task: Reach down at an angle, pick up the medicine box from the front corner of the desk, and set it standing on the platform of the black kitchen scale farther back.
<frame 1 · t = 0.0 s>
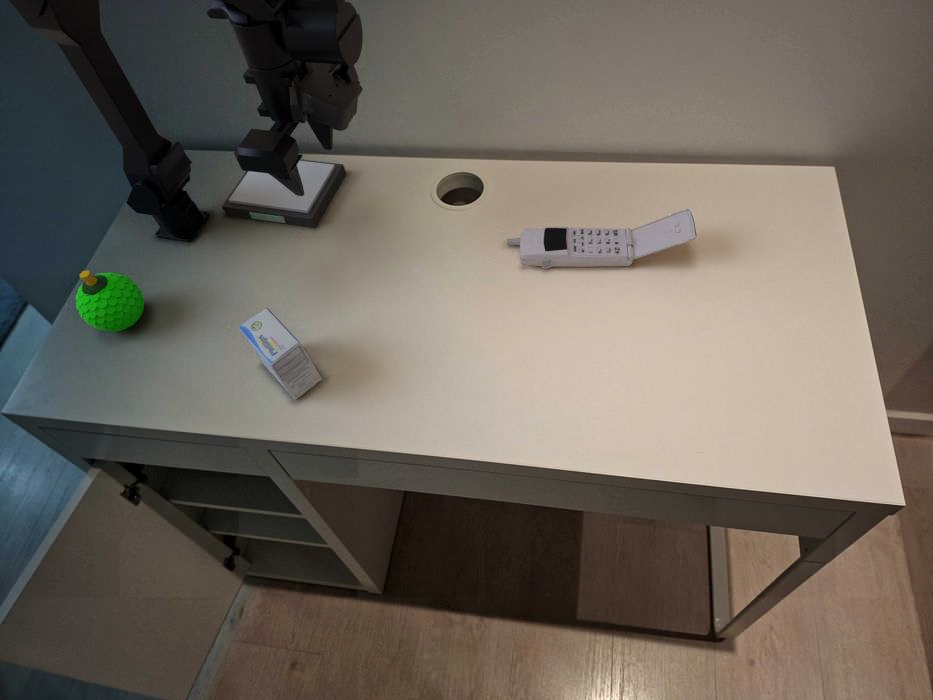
hand: (315, 171, 78), 15 cm above the table, tool pointing down, fingers open, 9 cm apart
medicine box: (293, 373, 78), on the table
kitchen scale: (287, 194, 98), on the table
mobile phone: (594, 255, 85), on the table
ornament: (128, 321, 86), on the table
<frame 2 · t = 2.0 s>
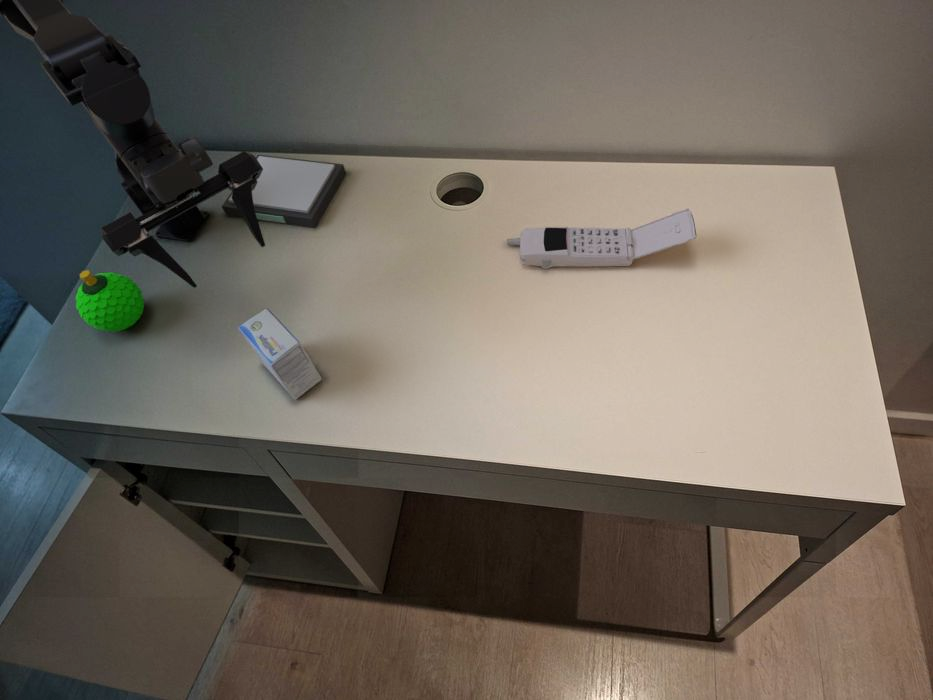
hand: (230, 266, 71), 13 cm above the table, tool tilted 45°, fingers open, 9 cm apart
nothing on the table moved.
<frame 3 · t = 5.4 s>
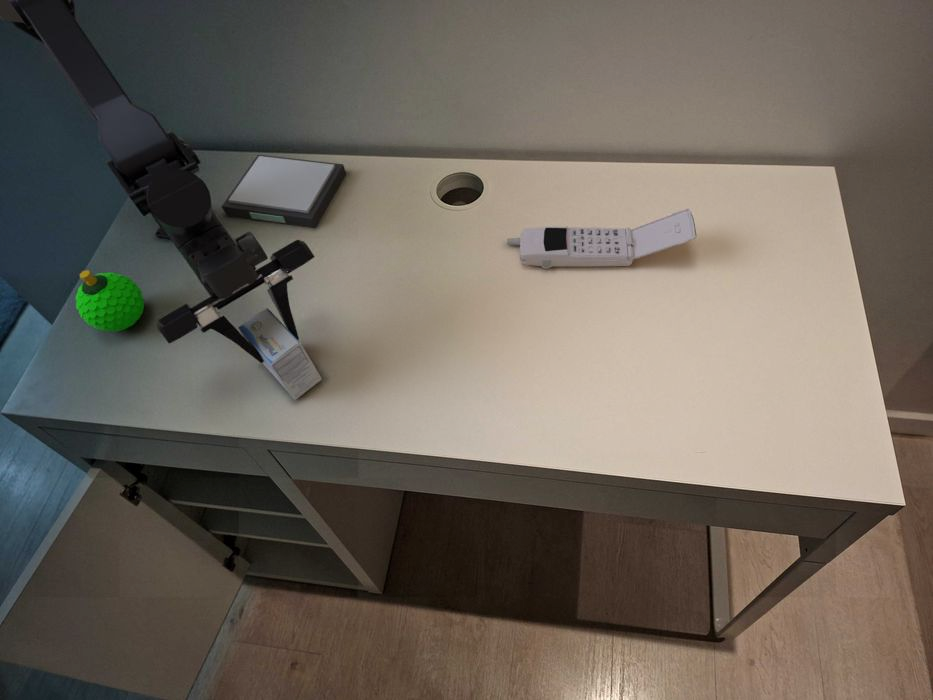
hand: (280, 351, 72), 7 cm above the table, tool tilted 45°, fingers closed on medicine box, 4 cm apart
medicine box: (293, 373, 78), on the table, touching gripper
everything else where it was.
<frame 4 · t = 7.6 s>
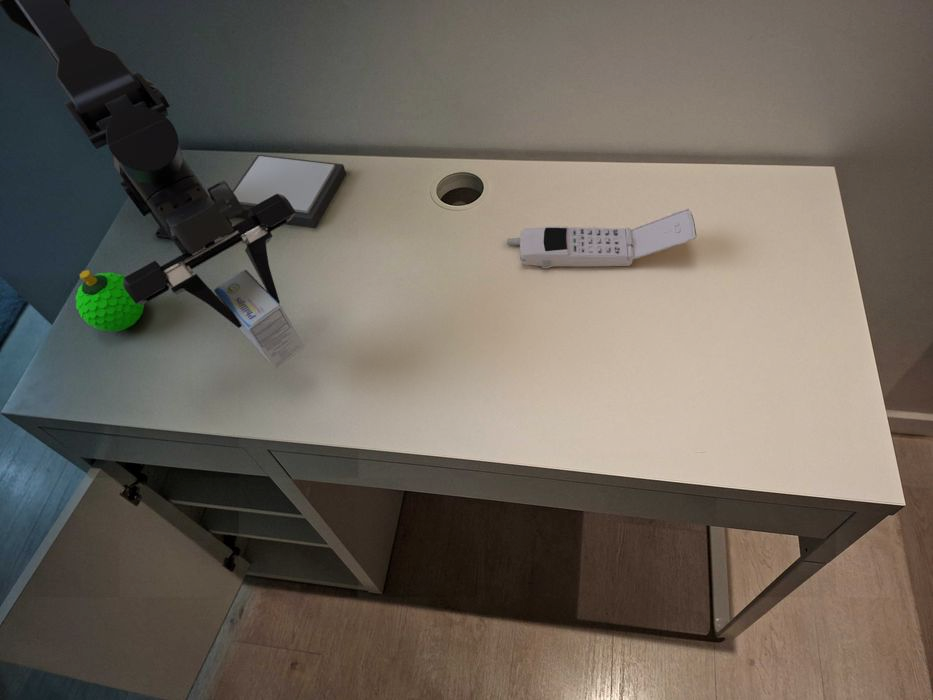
hand: (259, 315, 66), 13 cm above the table, tool tilted 45°, fingers closed on medicine box, 4 cm apart
medicine box: (274, 342, 73), point 6 cm above the table, touching gripper
everything else where it was.
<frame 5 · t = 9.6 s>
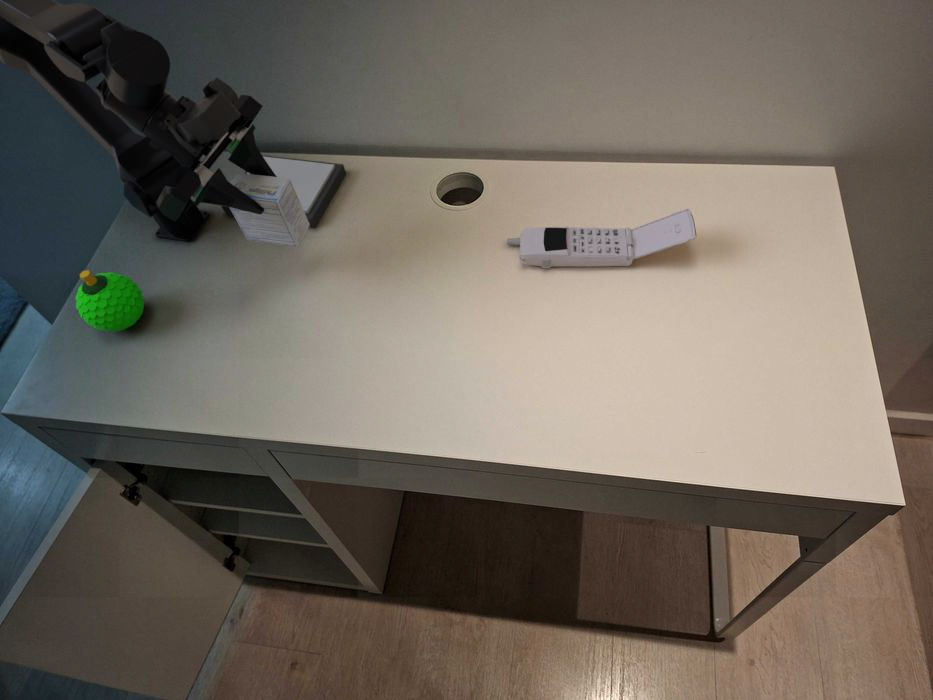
hand: (271, 199, 77), 13 cm above the table, tool tilted 45°, fingers closed on medicine box, 4 cm apart
medicine box: (279, 234, 83), point 7 cm above the table, touching gripper
everything else where it was.
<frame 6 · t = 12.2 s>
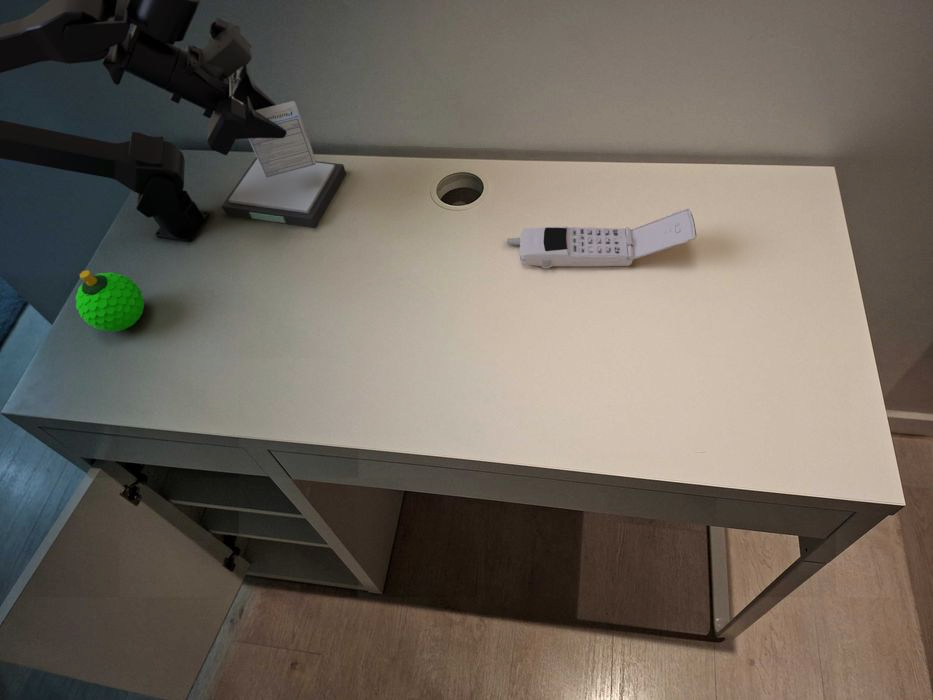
hand: (284, 125, 86), 13 cm above the table, tool tilted 45°, fingers closed on medicine box, 4 cm apart
medicine box: (290, 165, 92), point 7 cm above the table, touching gripper
everything else where it was.
when the fingers open (9 cm above the table, at t = 14.0 s): medicine box stays where it is, resting on kitchen scale.
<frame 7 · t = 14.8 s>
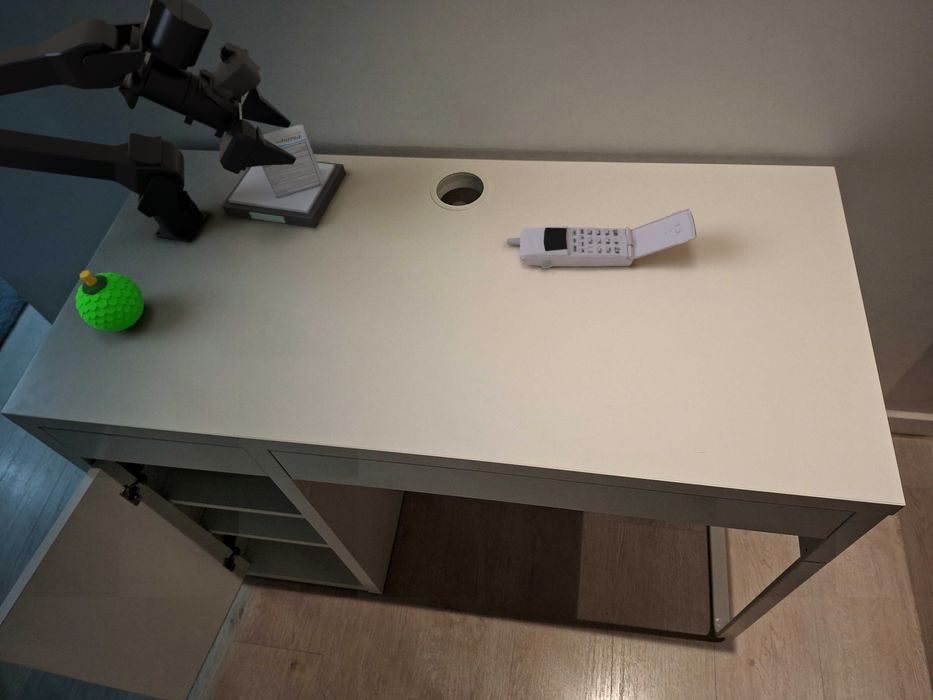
hand: (292, 142, 89), 10 cm above the table, tool tilted 45°, fingers open, 9 cm apart
medicine box: (298, 184, 95), point 2 cm above the table, touching kitchen scale
everything else where it was.
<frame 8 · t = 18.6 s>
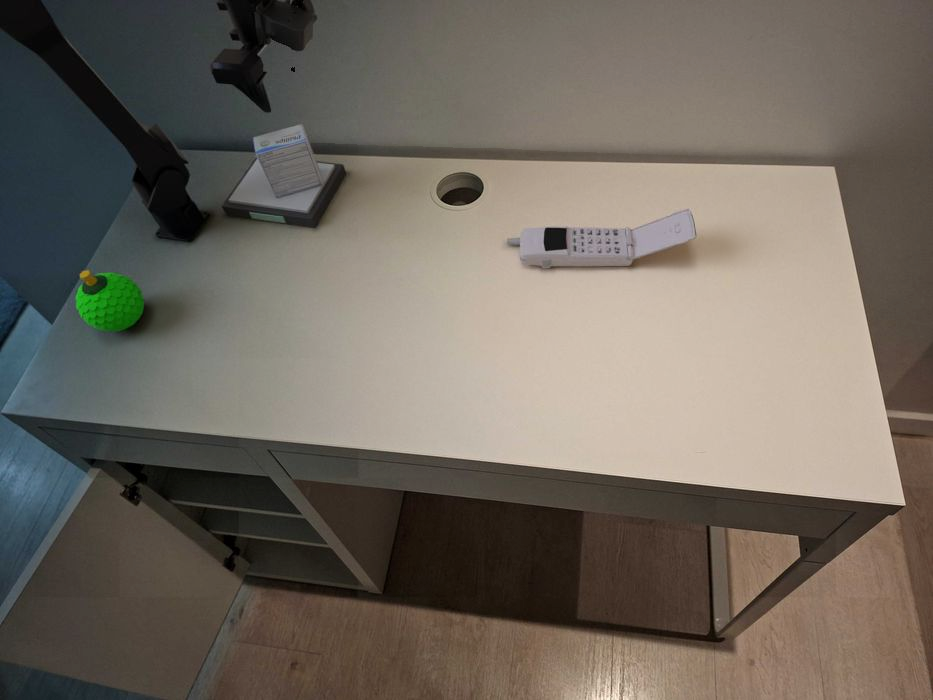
hand: (281, 94, 92), 13 cm above the table, tool pointing down, fingers open, 9 cm apart
nothing on the table moved.
at the end: medicine box inside the target area on the kitchen scale (2.9 cm from its centre), point 2.4 cm above the kitchen scale's base; medicine box tilted 0°; the gripper is holding nothing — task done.
